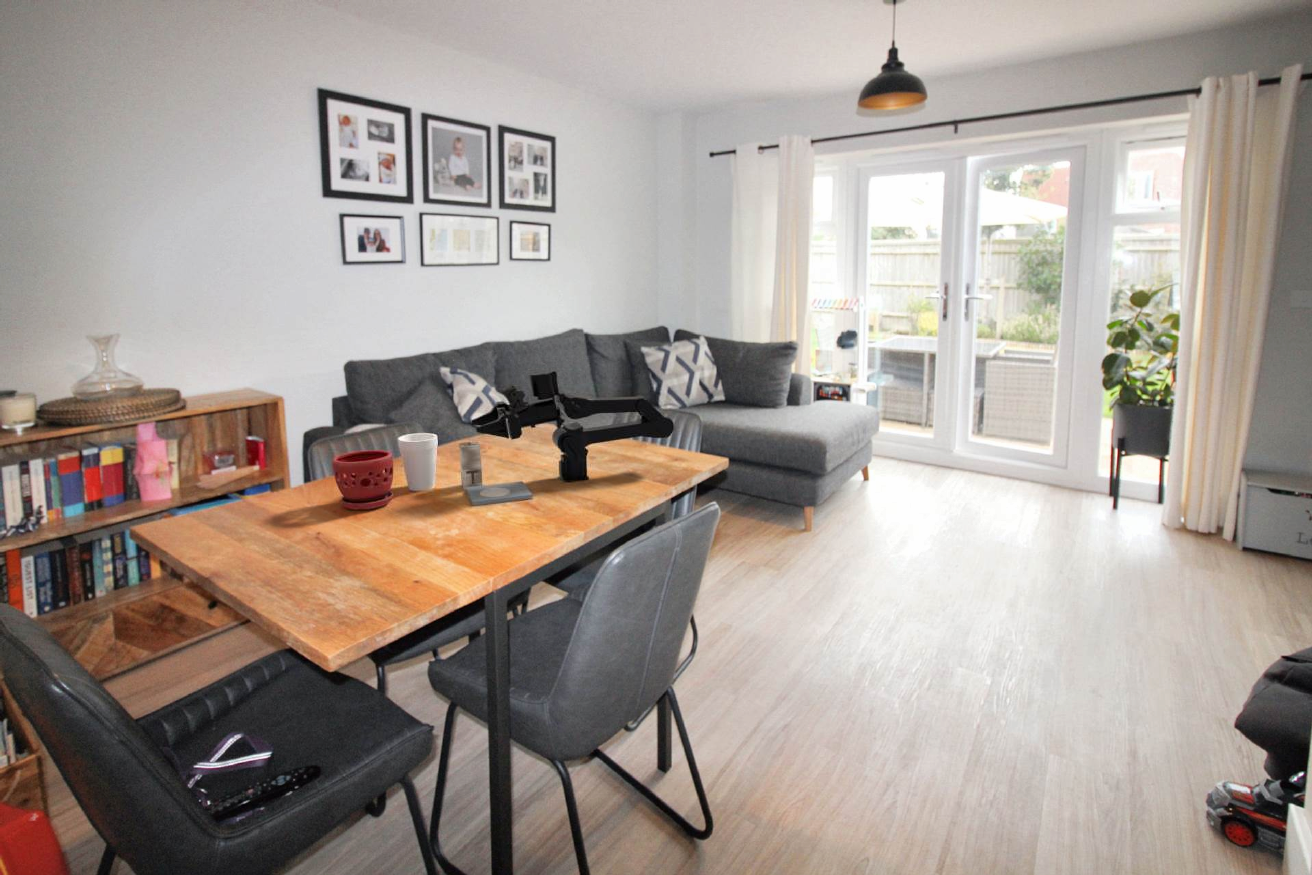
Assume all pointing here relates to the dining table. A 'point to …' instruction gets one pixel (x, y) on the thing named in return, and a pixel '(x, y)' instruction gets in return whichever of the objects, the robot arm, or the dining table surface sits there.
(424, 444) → the foam cup
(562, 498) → the dining table surface
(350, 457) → the plant pot
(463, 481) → the letter block
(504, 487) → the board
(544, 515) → the dining table surface
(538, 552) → the dining table surface
